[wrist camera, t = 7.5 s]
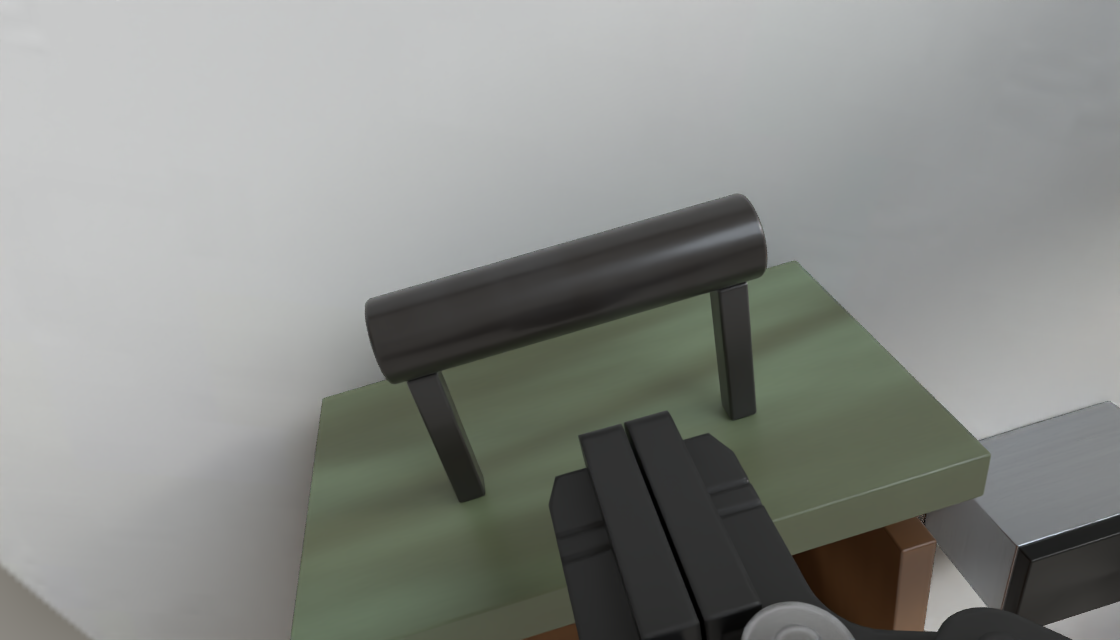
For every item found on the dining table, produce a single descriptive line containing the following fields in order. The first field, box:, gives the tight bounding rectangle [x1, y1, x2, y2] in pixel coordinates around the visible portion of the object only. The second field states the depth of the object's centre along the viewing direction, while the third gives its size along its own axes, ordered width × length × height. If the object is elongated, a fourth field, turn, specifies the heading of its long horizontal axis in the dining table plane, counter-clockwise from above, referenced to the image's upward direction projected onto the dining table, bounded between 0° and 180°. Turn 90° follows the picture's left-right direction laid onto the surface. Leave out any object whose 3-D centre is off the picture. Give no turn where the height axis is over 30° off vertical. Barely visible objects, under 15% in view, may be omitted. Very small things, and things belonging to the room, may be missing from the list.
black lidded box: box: [925, 401, 1120, 626], centre depth 26 cm, size 4×7×5 cm, turn 102°
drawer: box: [290, 194, 991, 640], centre depth 19 cm, size 22×13×8 cm, turn 12°
